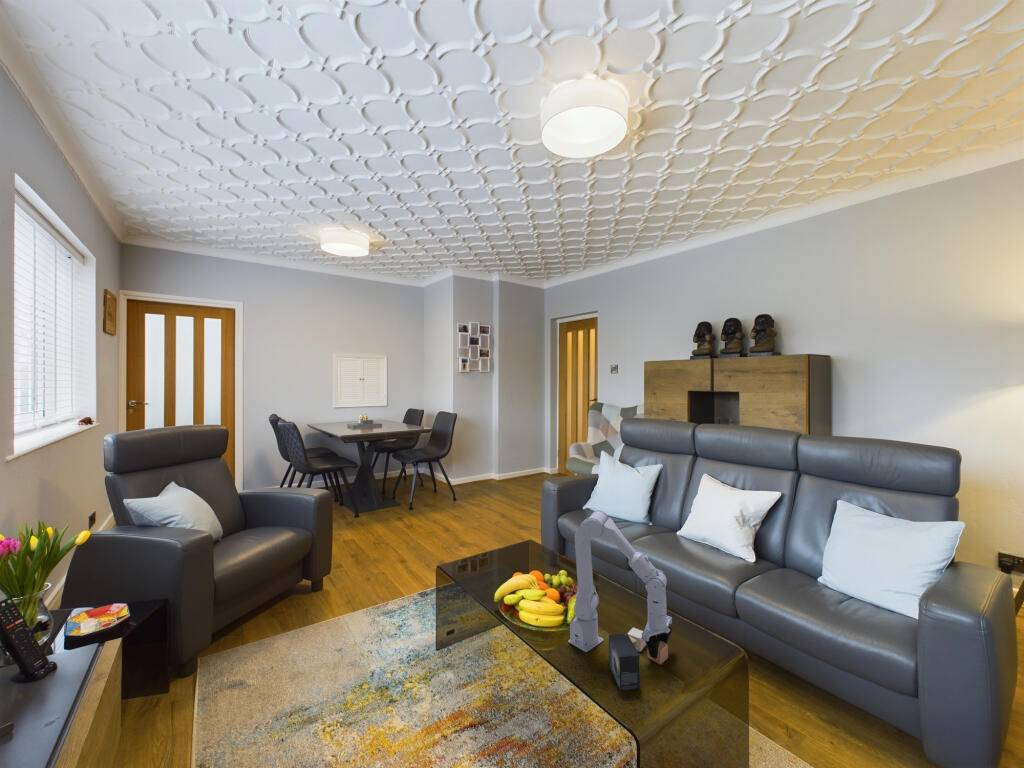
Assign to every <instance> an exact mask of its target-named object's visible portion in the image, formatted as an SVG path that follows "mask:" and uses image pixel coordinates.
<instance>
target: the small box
mask: <svg viewBox="0 0 1024 768" xmlns="http://www.w3.org/2000/svg"><path fill="white" fill-rule="evenodd" d="M608 654H609V655H608V656H609V669H610V672H611V674H612V676H613V678H614V680H615V682H616V685H617V687H618V689H619V692H629V691H631V692H632V691H639V690H640V691H641V688H642V687H641V674H640V673H641V671H640V670H641V669H640V656H641V655H640V653H639V651H637V650H636V648H635V646H634V644H633V642H632V641H631V639H630V637H629V635H628V634H627V633H619V634H617V633H616V634H609V635H608Z"/></svg>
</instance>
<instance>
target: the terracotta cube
mask: <svg viewBox="0 0 1024 768" xmlns="http://www.w3.org/2000/svg"><path fill="white" fill-rule="evenodd" d="M646 647H647V646H646ZM646 651H647V658H648V659H649V660H651V661H653V662H655V663H657V664H658V665H662V664H663V663H664V662H665V661H667V659H668V658H669V644H668V643H667V644H666V643H664V642H662V641H660V643H659V647H658V655H657V658H656V659H655V658H653V657H651V656H650V654H649V650H648V647H647V650H646Z"/></svg>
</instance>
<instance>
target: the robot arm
mask: <svg viewBox="0 0 1024 768" xmlns="http://www.w3.org/2000/svg"><path fill="white" fill-rule="evenodd" d="M600 536H601V537H600ZM598 537H600V539H601V540H605V541H607V540H609V541H611V542H612V543H613V544H614V545H615V547H616V548H618V550H619V551H620V552H621V553H622V554H623V555H624V556H625V557H626V558H627V559H628V566H629V567H630V568H631V569H632V570H633V572H635V574H636V575H637V576H638V578H640V579H641V581H643V583H645V586H644V587H645V590H646V591H647V596H646V597H647V598H646V599H647V602H646V603H647V623H646V625H645V628H644V630H642V631H643V632H642V639H643V640H645V642H646V647H648V650H649V654H650V656H651V657H653V658H655V659H656V658H657V655H658V647H659V643H660V641H662V642H664V643H666V644H668V642H669V639H670V636H671V634H672V633H673V628H672V627H670V626H669V625H672V624H673V617H672V616H669V615H667V612H668V611H667V592H666V591H667V589H666V586H667V584H668V579H667V576H666V574H665V572H664V571H662V570H661V569H658V568H656V567H655V566H654V564H653V563H652V562H651V561H650V560H649V557H648V555H647V554H644V553H643V552H640V551H636V550H635V548H634V547H633V546H632V544H631V543H630V542H629V540H628V539H627V538H626V537H625V536H624V534H623V533H622V532H621V531H620V529H619V528H618V527H617V525H616V524H615V521H614V520H613V519H612V518H611V517H609V516H608V514H607V513H606V512H605V510H601V509H597V510H593V512H592V513H590V514H588V516H587V517H586V518H585V519H584V520H583V521H582V522H581V523H580V526H579V527H578V529H577V530H576V532H575V534H574V548H575V549H574V550H575V563H576V564H575V565H576V578H577V590H576V595H575V604H574V606H573V612H574V614H575V617H574V618H573V620H572V621H571V622H570V623H569V639H568V640H567V641H568V643H569V644H571V645H573V646H574V647H576V648H578V649H579V650H581V651H583V652H585V653H588V652H589V651H591V650H592V649H594V648H595V647H596V646H598V645H600V644H601V643H603V642H604V638H603V637H601V636H599V619H598V618H599V617H598V616H599V615H598V610H597V607H598V605H599V603H600V598H599V595H598V593H597V590H596V586H595V584H594V577H593V563H592V548H591V540H592V539H595V538H598Z"/></svg>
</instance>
